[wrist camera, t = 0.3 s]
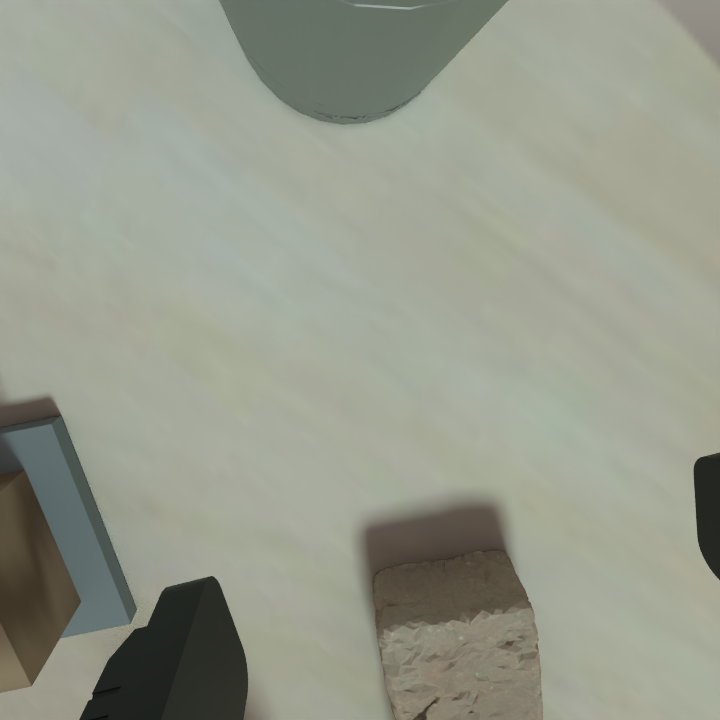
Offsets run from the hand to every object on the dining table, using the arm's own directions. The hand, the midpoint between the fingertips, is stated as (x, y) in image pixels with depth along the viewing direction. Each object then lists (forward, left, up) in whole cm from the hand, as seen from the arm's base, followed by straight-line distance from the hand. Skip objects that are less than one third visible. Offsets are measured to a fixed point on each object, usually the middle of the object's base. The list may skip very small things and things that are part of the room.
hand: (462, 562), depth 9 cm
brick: (+23, +1, -18) cm, 29 cm away
